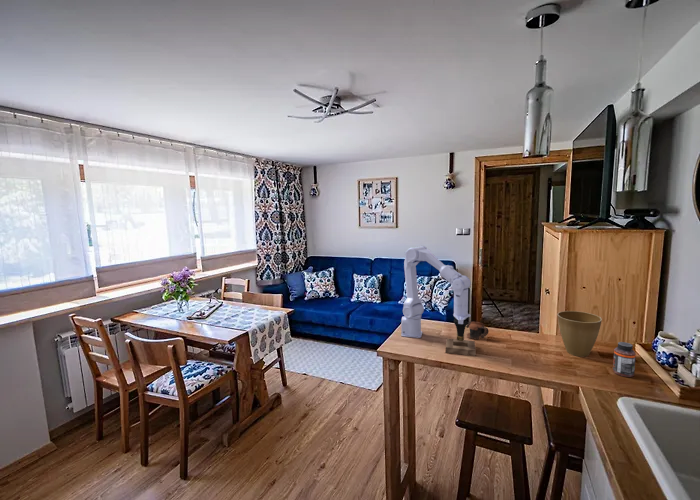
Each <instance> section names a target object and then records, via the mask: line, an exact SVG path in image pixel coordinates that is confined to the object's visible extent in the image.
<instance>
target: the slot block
mask: <svg viewBox="0 0 700 500" xmlns="http://www.w3.org/2000/svg"><path fill="white" fill-rule="evenodd" d="M445 341H446V343H445V354H455V355H463V356H473V357H476V355H477V353H476V342H475V340H465V339H464V340H463V341H459V340H457V338H448V337H447V338H446V340H445Z"/></svg>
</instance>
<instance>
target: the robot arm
mask: <svg viewBox="0 0 700 500" xmlns="http://www.w3.org/2000/svg"><path fill="white" fill-rule="evenodd" d="M404 255H405V258H404V262H403V264H404V265H403V269H404V278H405V279H404V280H405V291H406V299H405V300H404V302H403V307H402V313H403V314H402V315H404V316H402V317H401V319H400V320H401V322H400V324H401V325H400V327H401V328H400V331H401V335H400V336H401V337H405V338H415V339H419V338H420V339H421V338H422V335H423V331H422V314H423V313H424V311H425V308H424V305H423V301H422V299H420V297H419V291H418V278H417V277H418V276H417V267H416V266H417V265H418V264H419V263H420V262H427V263H428V264H429V265H430V266H432V267H434V268H435V269H436V270H438V271H439V275H440V276H441V277H442V278H443V279H445V280H446V281H447V282H448V283H449V284H450V285H451V288H452V290H453V314H452V315H453V318H454V319H453V323H454V325H455V328H456V335H457V334H458V336H461V337H463V335H464V336H465V330H466V328H467V327H466V326H467V325H468V322H469V321H468V318H471V314H470V313H469V288H470V287H471V285H472V284H471V283H472V282H471V280H470V278H469V276H467V275H463V274H462V273H460V272H459V271H457V270H455V268H454V266H453V265H449V264H447V265H446V264H444V263H443V262H442V261H441V260H440V259H438V257H436V256H435V255H434V254H433V253H432V251H431V250H430V249H429V248H427V247H426V246H425V245H421V246H415V247H409V248H408V249H407V250H406V251H405V252H404Z"/></svg>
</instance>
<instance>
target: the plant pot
mask: <svg viewBox="0 0 700 500" xmlns="http://www.w3.org/2000/svg"><path fill="white" fill-rule="evenodd" d="M556 316H557V321H558V328H559V332H560V335H561V339H562V342H563V345H564V348H565V351H566V352H567V353H568V354H569V355H571V356H574V357H575V356H576V357H580V358H581V357H582V358H585V357H589V355H590V354H591V352H592V350H593V348H594V346H595V344H596V341H597V339H598V336H599V333H600V331H601V324H602V322H603V321H602V320H603V319H602V317H601V316H599V315H597V314H593V313H589V312H586V311H577V310H563V311H559V312H557V315H556Z"/></svg>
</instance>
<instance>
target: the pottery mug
mask: <svg viewBox="0 0 700 500" xmlns="http://www.w3.org/2000/svg"><path fill="white" fill-rule="evenodd" d="M465 328H466V329H469V332H466V338H468V339H474V340H478V341H479V340H480V338H482V339H484V337H486V336H487V335H488V334H489V331H490V330H489V329H488V327H486V326H485V323H483V322H479V321H468V323H467V325H466V327H465Z"/></svg>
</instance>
